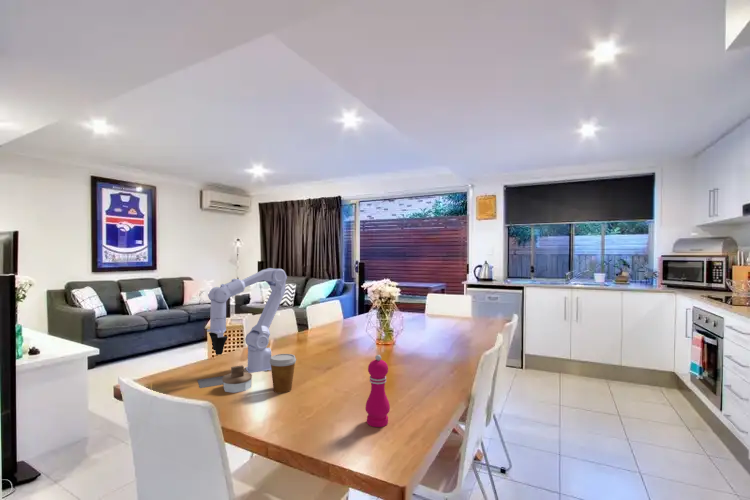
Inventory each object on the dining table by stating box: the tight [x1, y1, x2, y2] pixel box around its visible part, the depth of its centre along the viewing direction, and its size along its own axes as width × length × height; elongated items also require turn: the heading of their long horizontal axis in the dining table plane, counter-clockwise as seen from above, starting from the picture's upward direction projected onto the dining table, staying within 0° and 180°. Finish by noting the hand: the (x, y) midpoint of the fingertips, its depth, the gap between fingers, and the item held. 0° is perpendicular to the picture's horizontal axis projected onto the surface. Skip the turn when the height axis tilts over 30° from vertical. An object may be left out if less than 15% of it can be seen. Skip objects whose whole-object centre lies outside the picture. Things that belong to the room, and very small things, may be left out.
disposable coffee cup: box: [269, 353, 297, 394], centre depth 134 cm, size 10×10×12 cm
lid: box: [222, 365, 253, 384], centre depth 134 cm, size 10×10×4 cm
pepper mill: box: [365, 354, 391, 428], centre depth 109 cm, size 7×7×20 cm
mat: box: [197, 375, 224, 389], centre depth 140 cm, size 10×10×1 cm
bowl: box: [223, 379, 253, 394], centre depth 134 cm, size 9×9×4 cm
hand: (217, 352), depth 145 cm, fingers open, 7 cm apart
